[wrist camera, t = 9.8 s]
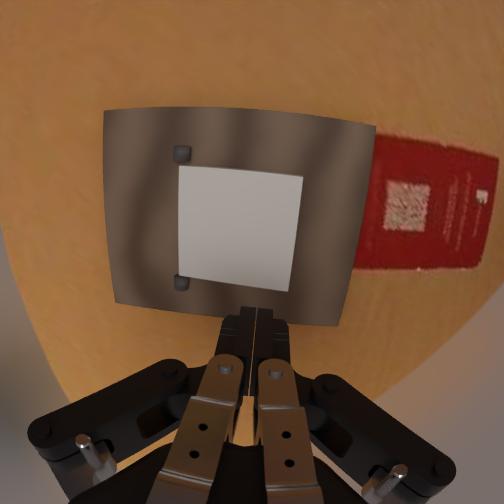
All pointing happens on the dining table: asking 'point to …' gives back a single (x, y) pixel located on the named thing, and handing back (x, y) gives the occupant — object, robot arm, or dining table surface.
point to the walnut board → (239, 157)
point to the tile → (237, 225)
